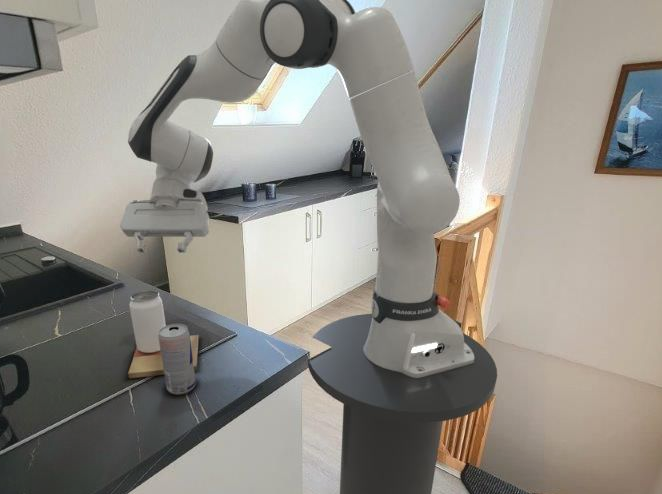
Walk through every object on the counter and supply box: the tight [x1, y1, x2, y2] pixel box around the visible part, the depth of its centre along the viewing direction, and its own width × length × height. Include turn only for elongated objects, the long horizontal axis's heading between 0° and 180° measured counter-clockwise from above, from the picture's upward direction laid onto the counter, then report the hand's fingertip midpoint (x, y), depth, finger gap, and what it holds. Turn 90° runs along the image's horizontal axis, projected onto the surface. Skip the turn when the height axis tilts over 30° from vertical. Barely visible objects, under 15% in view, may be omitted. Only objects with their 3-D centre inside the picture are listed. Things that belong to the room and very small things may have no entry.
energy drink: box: [158, 323, 197, 396], centre depth 74 cm, size 5×5×12 cm
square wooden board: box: [127, 334, 200, 379], centre depth 85 cm, size 13×13×1 cm
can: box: [128, 289, 167, 353], centre depth 85 cm, size 6×6×12 cm
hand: (161, 251), depth 92 cm, fingers open, 8 cm apart
